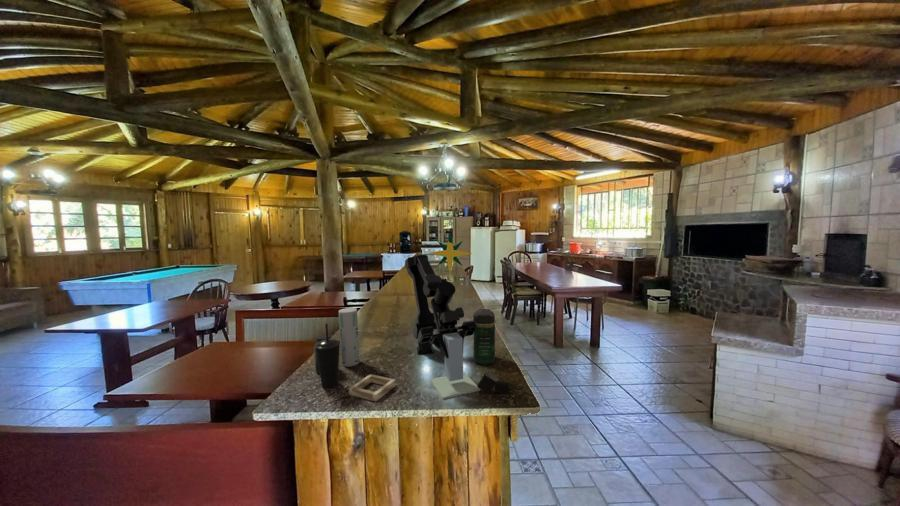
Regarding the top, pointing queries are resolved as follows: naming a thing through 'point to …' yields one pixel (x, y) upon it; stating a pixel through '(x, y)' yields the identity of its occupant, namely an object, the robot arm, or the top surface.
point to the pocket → (374, 396)
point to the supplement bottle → (315, 350)
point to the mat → (454, 386)
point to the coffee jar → (484, 336)
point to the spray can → (349, 336)
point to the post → (454, 357)
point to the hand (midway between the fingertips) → (455, 356)
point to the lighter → (493, 384)
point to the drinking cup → (328, 360)
